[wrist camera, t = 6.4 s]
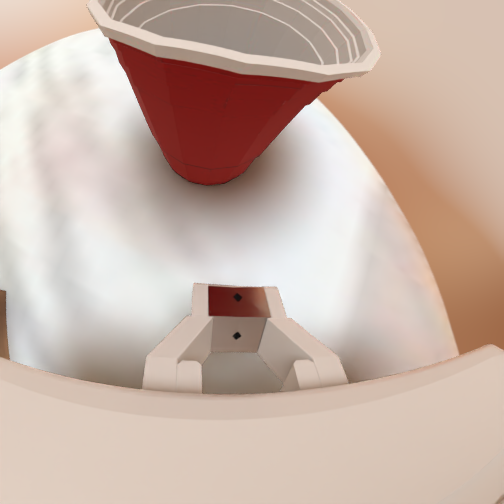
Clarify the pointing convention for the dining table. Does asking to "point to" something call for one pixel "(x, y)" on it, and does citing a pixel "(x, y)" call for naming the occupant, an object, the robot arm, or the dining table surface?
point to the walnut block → (3, 327)
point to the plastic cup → (230, 71)
